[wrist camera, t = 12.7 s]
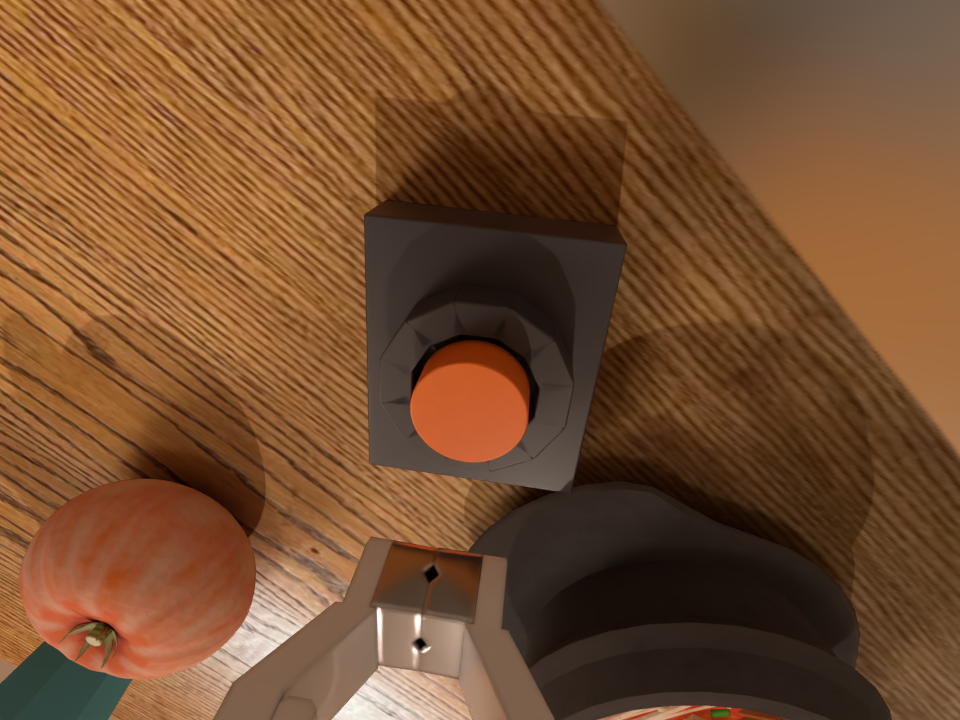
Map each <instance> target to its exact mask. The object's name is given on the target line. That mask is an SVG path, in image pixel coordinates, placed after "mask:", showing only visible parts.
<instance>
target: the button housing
mask: <svg viewBox="0 0 960 720" xmlns="http://www.w3.org/2000/svg"><path fill="white" fill-rule="evenodd" d="M364 233H365V281H366V328H367V375H368V422H369V463H370V464H373V465H380V466H387V467H394V468H401V469H407V470H414V471H421V472H428V473H435V474H441V475H448V476H455V477H462V478H469V479H476V480H482V481H489V482H496V483H503V484H510V485H516V486H523V487H530V488H537V489H544V490H551V491H557V492H564V493H571V492H572V488H573V484H574V479H575V475H576V470H577V466H578V461H579V457H580V453H581V448H582V444H583V439H584V435H585V430H586V426H587V421H588V417H589V412H590V408H591V404H592V399H593V395H594V390H595V386H596V381H597V377H598V372H599V368H600V363H601V359H602V354H603V350H604V346H605V341H606V337H607V332H608V328H609V323H610V319H611V314H612V310H613V305H614V301H615V297H616V292H617V288H618V283H619V279H620V274H621V270H622V265H623V261H624V256H625V252H626V247H627V244H626V242H625V240H624V238H623V237H622V235H621V233H620V231H619V229H618V227H617V226H612V225H604V224H595V223H586V222H577V221H568V220H559V219H550V218H541V217H532V216H524V215H515V214H506V213H497V212H488V211H479V210H470V209H461V208H452V207H444V206H435V205H426V204H417V203H408V202H399V201H390V200H386V201H384V202H383V203H381V204H379V205H378V206H376V207H375V208H373V209H372V210H370V211H369V212H367V213H366V214H365V215H364ZM463 340H480V341H486V342H489V343H492V344H495V345H497V346H500V347H502V348H503V349H505V350H507V351H508V352H509V353H510V354H512V355H513V356H514V357H515V358H516V359H517V360H518V361H519V362H520V364H521V365H522V367H523V368H524V370H525V372H526V374H527V377H528V380H529V384H530V401H529V418H528V425H527V429H526V432H525V434H524V436H523V438H522V439H521V441H520V442H519V443H518V444H517V446H515V447H514V448H513V449H512V450H511V451H510V452H508V453H507V454H505V455H503V456H501V457H499V458H496V459H494V460H490V461H485V462H463V461H458V460H454V459H451V458H448V457H446V456H444V455H442V454H440V453H438V452H437V451H435V450H434V449H432V448H431V447H430V446H429V445H427V444H426V443H425V442H424V440H423V439H422V438H421V437H420V435H419V434H418V433H417V431H416V429H415V427H414V424H413V422H412V418H411V414H410V401H411V397H412V393H413V391H414V389H415V386H416V384H417V382H418V380H419V377H420V375H421V373H422V371H423V369H424V366H425V364H426V363H427V361H428V360H429V358H430V357H431V356H432V355H433V354H434V353H435V352H437V351H438V350H439V349H441V348H442V347H444V346H446V345H448V344H451V343H454V342H457V341H463Z"/></svg>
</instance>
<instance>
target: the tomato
mask: <svg viewBox="0 0 960 720" xmlns="http://www.w3.org/2000/svg"><path fill="white" fill-rule="evenodd" d="M255 580H256V565H255V557H254V553H253V550H252V547H251V544H250V542H249V540H248V538H247V536H246V534H245V532H244V531H243V529H242V528H241V526H240V525H239V523H238V522H237V520H236V519H235V518H234V517H233V516H232V515H231V514H230V513H229V512H228V511H227V510H226V509H225V508H224V507H223V506H221V505H220V504H219V503H218V502H216V501H215V500H213V499H212V498H210V497H209V496H207V495H205V494H203V493H201V492H199V491H197V490H195V489H193V488H190V487H187V486H184V485H181V484H178V483H174V482H170V481H165V480H157V479H131V480H124V481H118V482H113V483H109V484H105V485H102V486H100V487H97V488H94V489H92V490H89V491H86V492H84V493H83V494H81V495H79V496H77V497H75V498H73V499H71V500H70V501H68V502H67V503H66V504H64V505H63V506H61V507H60V508H59V509H58V510H57V511H56V512H54V513H53V514H52V515H51V516H50V517H49V518H48V519H47V520H46V521H45V522H44V524H43V525H42V526H41V528H40V529H39V530H38V532H37V533H36V534H35V536H34V538H33V539H32V541H31V543H30V545H29V547H28V549H27V551H26V554H25V556H24V559H23V561H22V565H21V569H20V574H19V582H18V584H19V591H20V594H21V597H22V600H23V603H24V609H25V612H26V614H27V616H28V619H29V620H30V622H31V624H32V625H33V627H34V628H35V630H36V631H37V632H38V633H39V635H40V636H41V637H42V638H43V640H44V641H45V642H47V643H48V644H50V645H51V646H53V647H55V648H56V649H58V650H59V651H60V652H61V653H63V654H64V655H65V656H66V657H67V658H68V659H70V660H72V661H74V662H76V663H78V664H80V665H82V666H84V667H86V668H88V669H90V670H93V671H98V672H104V673H107V674H110V675H113V676H116V677H120V678H125V679H146V680H148V679H156V678H160V677H164V676H168V675H170V674H173V673H176V672H181V671H183V670H186V669H189V668H191V667H193V666H195V665H197V664H199V663H201V662H202V661H204V660H205V659H207V658H208V657H210V656H211V655H212V654H214V653H215V652H216V651H217V650H218V649H219V648H221V647H222V646H223V645H224V644H225V643H226V642H227V641H228V640H229V639H230V638H231V637H232V636H233V635H234V634H235V632H236V631H237V630H238V628H239V627H240V626H241V625H242V623H243V621H244V620H245V618H246V616H247V614H248V612H249V609H250V606H251V603H252V599H253V595H254V590H255Z"/></svg>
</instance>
